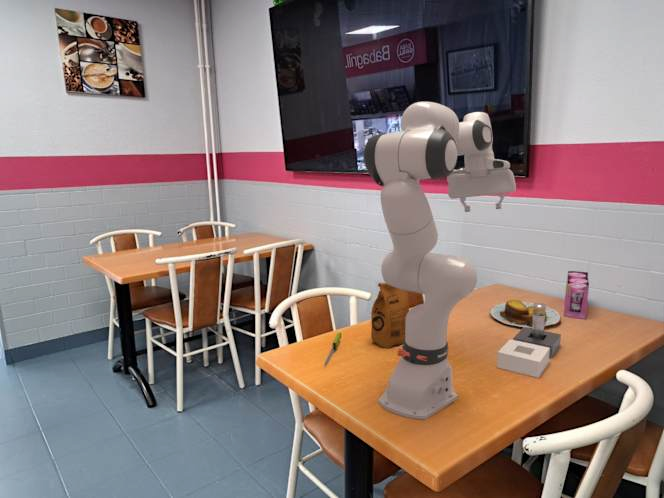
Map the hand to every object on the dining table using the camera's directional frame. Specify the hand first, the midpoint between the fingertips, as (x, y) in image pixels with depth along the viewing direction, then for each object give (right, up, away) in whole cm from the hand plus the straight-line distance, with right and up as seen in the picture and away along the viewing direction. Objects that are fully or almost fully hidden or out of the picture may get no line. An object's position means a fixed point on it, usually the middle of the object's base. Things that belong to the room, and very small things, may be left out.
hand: (482, 210), depth 147 cm
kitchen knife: (-47, -47, +7) cm, 67 cm away
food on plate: (+28, -40, +36) cm, 61 cm away
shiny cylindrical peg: (+21, -45, +9) cm, 51 cm away
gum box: (+52, -37, +45) cm, 79 cm away
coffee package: (-27, -45, +17) cm, 55 cm away
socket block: (+21, -45, +9) cm, 51 cm away
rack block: (+11, -48, -3) cm, 49 cm away
